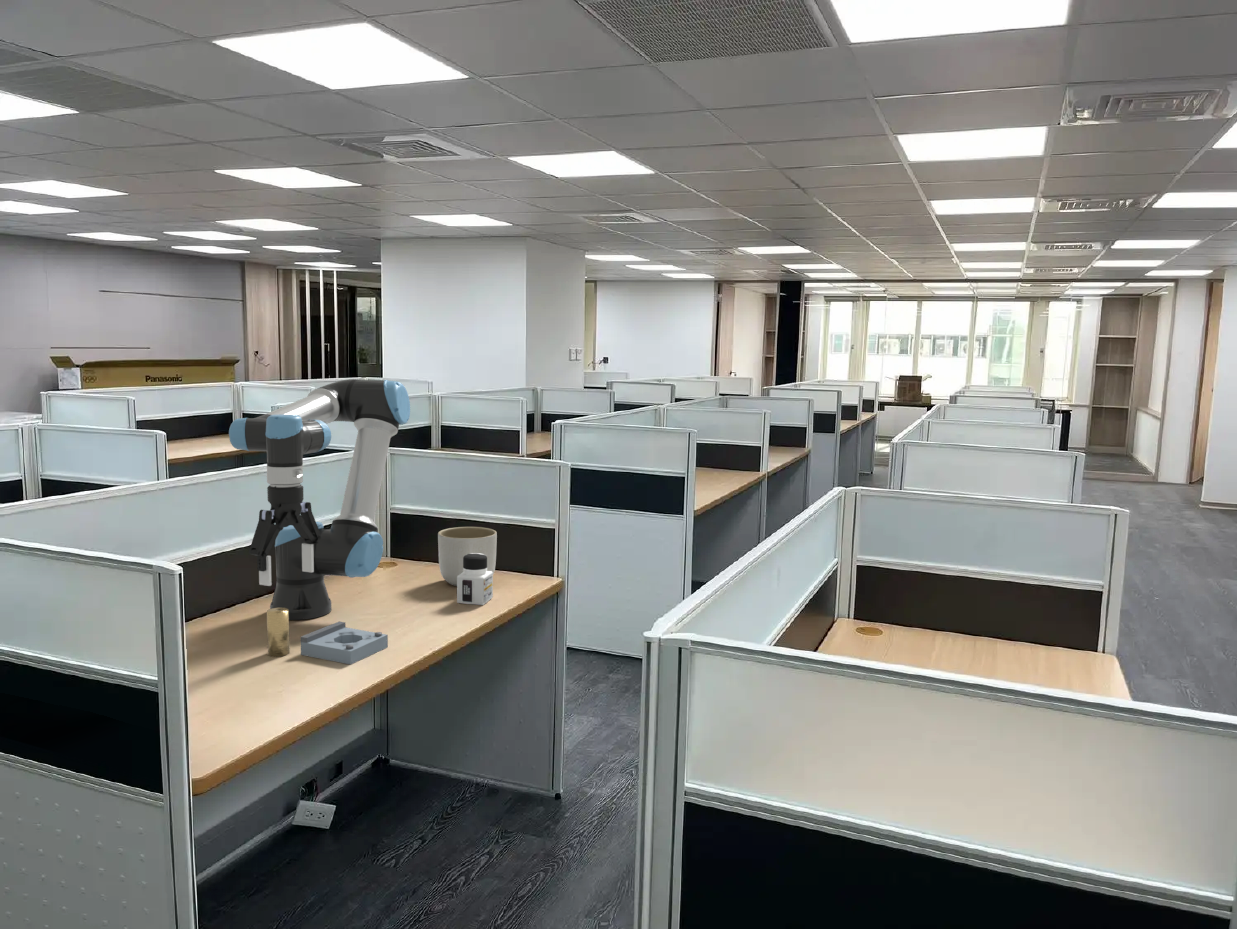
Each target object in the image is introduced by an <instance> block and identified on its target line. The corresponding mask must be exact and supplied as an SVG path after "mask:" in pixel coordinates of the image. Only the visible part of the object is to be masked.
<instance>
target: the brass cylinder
mask: <svg viewBox="0 0 1237 929" xmlns="http://www.w3.org/2000/svg"><path fill="white" fill-rule="evenodd" d="M266 626H267V627H266V629H267V630H266V633H267V634H266V635H267V656H269V657H273V658H279V657H280V658H281V657H285V656H288V655H289V654H290V650H291V648H290V647H291V646H290V620H289V610H288V609H287V608H272V609H270V608H269V609H268V610H266Z"/></svg>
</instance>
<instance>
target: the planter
mask: <svg viewBox="0 0 1237 929" xmlns="http://www.w3.org/2000/svg"><path fill="white" fill-rule="evenodd" d="M497 534H498V533H497V531H496V530H494V529H492V528H489V527H482V526H458V527H449V528H445V529H442V530H440V531H438V533H437V543H438V544H437V545H438V546H437V547H438V548H437V549H438V565H439V573H440V574H441V577H442V578H443V579H444V581H446V583H447V584H449V585H451V586H455V587H457V576H458V575H460V574H461V573H463V572H464V571H463V557H464V556H465V555H467V554H470V553H481V554H484V555H486V556H487V571H492V572H493V575H494V574H495V570H496V562H497V543H498V542H497V540H498V539H497V538H498V535H497Z"/></svg>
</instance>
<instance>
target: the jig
mask: <svg viewBox="0 0 1237 929" xmlns="http://www.w3.org/2000/svg"><path fill="white" fill-rule="evenodd" d="M388 640H389V636H388V634H385V633H383V632H381V631H376V632H373V631H369V630H363V629H356V628H351V627H346V622H344V621H337V622H335V623H331V624H329V625H327V626H324V627H322V628H319V629H317V630H314V631H311V632H308V633H306V634H304V635H302V636H300V655H301V656H306V657H311V658H314V659H315V658H316V659H321V660H326V661H331V662H337V663H341V664H347V665H353V664H355V663H357V662H359V661H361V660H363V659H366V658H368V657H370V656H372V655H375V654H377V653H379V652H381V651H383V650H385V649H387V648H388V646H389V643H388V642H389V641H388Z"/></svg>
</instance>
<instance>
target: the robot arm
mask: <svg viewBox="0 0 1237 929" xmlns="http://www.w3.org/2000/svg"><path fill="white" fill-rule="evenodd" d="M410 403H411V402H410V396H409V393H408V391H407V389H406V387H405V385H404V384H403V383H402V382H400V381H397V380H396V381H395V380H388V379H383V380H379V379H378V380H377V379H376V380H375V379H354V378H352V379H351V378H350V379H343V380H342V379H341V380H339V381H335V382H332V383H329V384H325V385H323V386H320V387H318V388H315V389H313V390H311V391H309V393H308V394H307V396H305V397H303V398H302V399H298V400H296V401H294V402H292V403H289V404H286V405H284V406H281V407H280V408H277V409H275V410H273V411H272V410H271V411H270V412H267V413H265V414H262V415H259V416H257V417H254V418H252V417H251V418H249V417H243V418H241V417H240V418H236V419H234V420H233V421H232V423H230V426H229V430H228V436H229V442H230V444H231V446H232V447H233V448H234V449H236V450H240V451H247V452H266V482H267V484H268V486H267V488H266V489H267V490H266V491H267V492H266V493H267V501H268V503H269V504H270V510H267V509H260V510H259V513H258V515H259V516H258V521H257V522H258V523H257V524H256V527H255V528H256V529H255V532H254V534H253V538H252V541H251V544H250V547H249V550H248V554H249V555H253V556H256V563H257V566H256V569H257V571H258V583H259V584H258V585H260V586H267V587H271V586H272V584H273V583H272V556H271V555H269V554H270V551H271V549H272V547H273V545H274V548H275V570H276V571H275V572H276V573H275V574H276V585H275V589H274V591H273V596H272V599H271V600H272V601H271V602H270V605H269V609H272V608H287V609H288V610H289V621H296V620H297V621H299V620H308V619H309V620H310V619H315V618H319V617H323V616H326V615H328V614H329V613H331V611H332V600H331V598H330V597H329V593H328V590H327V586H326V584H325V583H326V582H325V576H336V577H348V578H365V577H369V576H370V575H372V574H373V573H374V572H375V571H376V569H377V568H378V567H379V565H380V563H381V559H382V557H383V552H384V539H383V537H382V535H381V534H380V533H379V527H378V525H377V524H376V523H375V516H376V511H377V507H378V502H379V496H380V492H381V487H382V486H381V485H382V482H383V478H384V477H383V476H384V472H385V467H386V463H387V457H388V452H389V448H390V442H391V438H392V437H394V436H395V435H397V434H398V432H399V427H400V426H402V425H405V424H407V423H408V422H409V420H410V415H411V404H410ZM334 422H345V423H346V422H348V423H353V426H354V427H355V428H356V430H357V434H356V439H355V444H354V449H353V453H352V458H351V463H350V467H349V473H348V476H347V481H346V485H345V491H344V494H343V500H342V504H341V508H340V509H341V510H340V513H339V516H337V517H335V518H333V519H332V522H331V527H330V528H329V529H328V528H327V529H325V528H324V523H322V522H320V521H316V518H315V516H314V513H313V511H312V503H311V502H310V501H309V502H308V501H304V486H303V484H302V483H304V476H303V473H304V472H303V469H304V468H303V465H304V464H303V460H304V459H303V458H304V455H308V454H313V453H314V454H317V453H319V452H321V451H323V450H324V449H326V448H327V447H328V446H329V445H330V443H331V440H332V431H331V429H330V427H329V425H328V424H331V423H334Z"/></svg>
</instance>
